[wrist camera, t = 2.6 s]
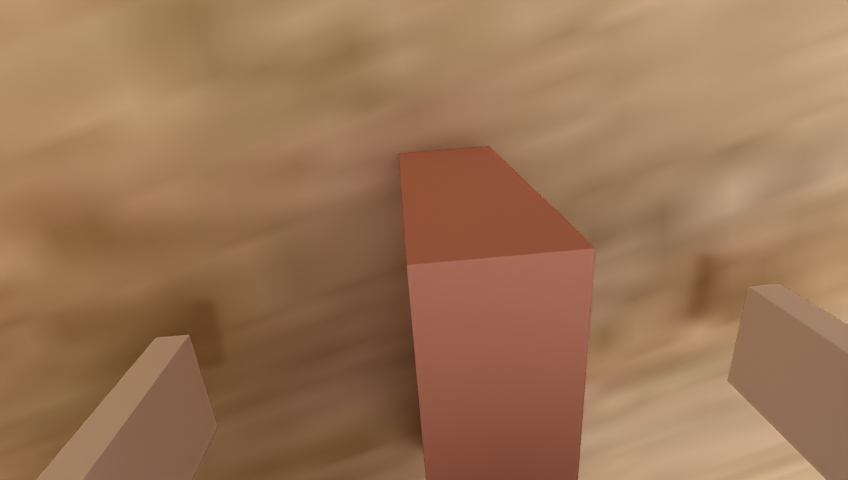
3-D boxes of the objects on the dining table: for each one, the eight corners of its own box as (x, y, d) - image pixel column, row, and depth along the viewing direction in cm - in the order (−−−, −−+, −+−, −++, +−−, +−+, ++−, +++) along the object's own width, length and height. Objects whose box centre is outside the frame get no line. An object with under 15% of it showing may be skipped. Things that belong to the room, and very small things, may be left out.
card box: (424, 448, 15) (447, 715, 9) (398, 152, 11) (406, 264, 5) (493, 441, 15) (561, 701, 9) (488, 145, 11) (596, 247, 5)
